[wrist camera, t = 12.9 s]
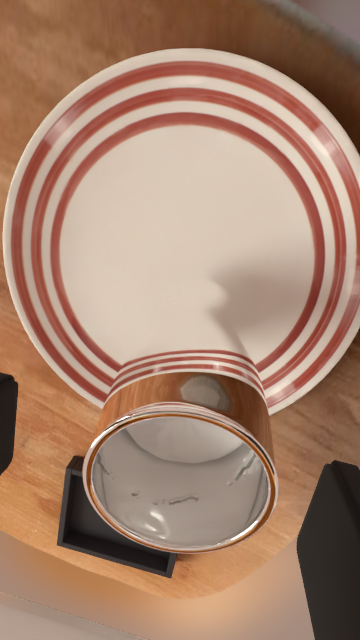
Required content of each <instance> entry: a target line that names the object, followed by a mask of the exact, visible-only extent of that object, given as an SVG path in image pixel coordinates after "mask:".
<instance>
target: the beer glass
mask: <svg viewBox="0 0 360 640" xmlns="http://www.w3.org/2000/svg"><path fill="white" fill-rule="evenodd" d="M238 325H239V312H238V308H237V305H236V302H235V300H234V299H233V297H232V296H231V294H230V293H229V292H228V291H227V290H226V289H225V288H224V287H222V286H221V285H219V284H217V283H215V282H213V281H210V280H206V279H198V278H195V279H187V280H184V281H181V282H179V283H177V284H175V285H173V286H172V287H170V288H169V289H168V290H167V291H166V292H165V293H164V295H163V296H162V297H161V299H160V301H159V303H158V306H157V310H156V324H155V325H154V326H153V327H152V328H151V329H150V330H149V331H148V332H147V333H146V334H145V335H144V337H143V338H142V339H141V340H140V341H139V342H138V343H137V345H136V346H135V347H134V348H133V350H132V351H131V352H130V354H129V355H128V356H127V358H126V359H125V361H124V363H123V365H122V367H121V368H120V370H119V372H118V374H117V376H116V378H115V380H114V382H113V384H112V387H111V389H110V391H109V394H108V396H107V399H106V401H105V404H104V407H103V410H102V412H101V415H100V418H99V421H98V424H97V427H96V430H95V434H94V437H93V439H92V442H91V445H90V447H89V449H88V450H87V453H86V456H85V459H84V463H83V471H82V476H83V484H84V488H85V491H86V494H87V497H88V499H89V501H90V503H91V505H92V506H93V508H94V509H95V511H96V512H97V513H98V514H99V516H100V517H101V518H102V519H103V520H104V521H105V522H106V523H107V524H108V525H109V526H111V527H112V528H113V529H115V530H116V531H117V532H119V533H120V534H122V535H123V536H125V537H127V538H129V539H131V540H133V541H135V542H137V543H139V544H142V545H145V546H147V547H150V548H154V549H158V550H162V551H167V552H173V553H185V554H196V553H207V552H214V551H218V550H222V549H226V548H229V547H232V546H234V545H237V544H239V543H241V542H243V541H245V540H246V539H248V538H250V537H251V536H253V535H254V534H255V533H256V532H258V531H259V530H260V529H261V528H262V527H263V526H264V525H265V523H266V522H267V521H268V519H269V518H270V516H271V515H272V513H273V511H274V509H275V506H276V503H277V499H278V493H279V482H278V476H277V472H276V469H275V461H274V450H273V440H272V432H271V424H270V417H269V412H268V407H267V402H266V397H265V393H264V390H263V386H262V383H261V380H260V376H259V373H258V371H257V369H256V366H255V364H254V362H253V360H252V358H251V356H250V354H249V352H248V350H247V349H246V347H245V346H244V344H243V342H242V341H241V339H240V337H239V336H238V334H237V330H238Z"/></svg>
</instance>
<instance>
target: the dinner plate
mask: <svg viewBox="0 0 360 640" xmlns="http://www.w3.org/2000/svg"><path fill="white" fill-rule="evenodd" d="M3 257H4V265H5V272H6V277H7V281H8V285H9V290H10V293H11V296H12V299H13V303H14V306H15V308H16V311H17V313H18V315H19V318H20V320H21V322H22V324H23V327H24V329H25V331H26V332H27V334H28V336H29V338H30V339H31V341H32V342H33V344H34V346H35V347H36V349H37V350H38V352H39V353H40V354H41V356H42V357H43V358H44V360H45V361H46V362H47V363H48V364H49V366H50V367H51V368H52V369H53V370H54V371H55V372H56V373H57V374H58V375H59V376H60V377H61V378H62V379H63V380H64V381H65V382H66V383H67V384H68V385H69V386H70V387H71V388H73V389H74V390H75V391H76V392H78V393H79V394H80V395H81V396H83V397H84V398H86V399H87V400H89V401H90V402H92V403H93V404H95V405H97V406H98V407H100V408H101V409H103V407H104V404H105V401H106V399H107V396H108V394H109V391H110V389H111V387H112V384H113V382H114V380H115V378H116V376H117V374H118V372H119V370H120V368H121V367H122V365H123V363H124V361H125V359H126V358H127V356H128V355H129V354H130V352H131V351H132V350H133V348H134V347H135V346H136V345H137V343H138V342H139V341H140V340H141V339H142V338H143V337H144V335H145V334H146V333H147V332H148V331H149V330H150V329H151V328H152V327H153V326H154V325H155V324H156V310H157V306H158V303H159V301H160V299H161V297H162V296H163V295H164V293H165V292H166V291H167V290H168V289H169V288H170V287H172V286H173V285H175V284H177V283H179V282H181V281H184V280H187V279H195V278H198V279H206V280H210V281H213V282H215V283H217V284H219V285H221V286H222V287H224V288H225V289H226V290H227V291H228V292H229V293H230V294H231V296H232V297H233V299H234V300H235V302H236V305H237V308H238V312H239V325H238V330H237V334H238V336H239V337H240V339H241V341H242V342H243V344H244V346H245V347H246V349H247V350H248V352H249V354H250V356H251V358H252V360H253V362H254V364H255V366H256V369H257V371H258V373H259V376H260V380H261V383H262V386H263V390H264V393H265V397H266V402H267V407H268V412H269V416H270V415H272V414H274V413H276V412H278V411H280V410H282V409H284V408H286V407H287V406H289V405H290V404H292V403H294V402H295V401H297V400H298V399H300V398H301V397H302V396H304V395H305V394H306V393H308V392H309V391H310V390H311V389H313V388H314V387H315V386H316V385H317V384H318V383H319V382H320V381H321V380H322V379H323V378H324V377H325V376H326V375H327V374H328V373H329V372H330V371H331V370H332V368H333V367H334V366H335V365H336V364H337V363H338V362H339V360H340V359H341V357H342V356H343V355H344V353H345V352H346V350H347V349H348V347H349V346H350V344H351V342H352V341H353V339H354V337H355V336H356V334H357V332H358V330H359V328H360V156H359V154H358V152H357V150H356V148H355V146H354V144H353V143H352V141H351V139H350V138H349V136H348V135H347V133H346V132H345V130H344V129H343V128H342V126H341V125H340V124H339V122H338V121H337V120H336V119H335V117H334V116H333V115H332V114H331V113H330V111H329V110H328V109H327V108H326V107H325V106H324V105H323V104H322V103H321V102H320V101H319V100H318V99H317V98H316V97H315V96H313V95H312V94H311V93H310V92H309V91H307V90H306V89H305V88H303V87H302V86H301V85H299V84H298V83H297V82H295V81H294V80H292V79H291V78H289V77H287V76H286V75H284V74H282V73H281V72H279V71H277V70H275V69H273V68H271V67H269V66H267V65H265V64H263V63H261V62H258V61H256V60H253V59H250V58H247V57H244V56H240V55H236V54H232V53H229V52H223V51H218V50H212V49H201V48H183V49H167V50H161V51H156V52H151V53H147V54H143V55H139V56H135V57H132V58H129V59H126V60H124V61H122V62H119V63H117V64H114V65H112V66H110V67H108V68H106V69H104V70H102V71H100V72H99V73H97V74H95V75H94V76H92V77H91V78H89V79H88V80H86V81H85V82H83V83H82V84H80V85H79V86H78V87H76V88H75V89H74V90H73V91H72V92H70V93H69V94H68V95H67V96H66V97H65V98H64V99H63V100H61V101H60V102H59V103H58V104H57V106H56V107H55V108H54V109H53V110H52V111H51V112H50V113H49V114H48V116H47V117H46V118H45V119H44V121H43V122H42V123H41V125H40V126H39V127H38V129H37V130H36V132H35V133H34V135H33V136H32V138H31V139H30V141H29V143H28V145H27V146H26V148H25V150H24V152H23V154H22V156H21V158H20V161H19V163H18V165H17V167H16V170H15V173H14V176H13V179H12V182H11V185H10V188H9V192H8V197H7V201H6V207H5V213H4V222H3Z"/></svg>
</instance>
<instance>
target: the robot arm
mask: <svg viewBox="0 0 360 640" xmlns="http://www.w3.org/2000/svg"><path fill="white" fill-rule="evenodd" d="M17 397H18V383H17V382H15V381H14V377H13V376H12V375H8V374H4V373H0V475H1V474H2V473H3V472H4V471H5V470H6V469H7V467H8V466H9V464H10V463H11V461H12V458H13V450H14V437H15V423H16V410H17ZM297 554H298V559H299V564H300V568H301V573H302V578H303V583H304V588H305V593H306V598H307V602H308V608H309V612H310V617H311V622H312V627H313V632H314V637H315V640H360V470H359V468H358V467H357V466H355V465H352V464H348V463H344V462H340V461H337V460H334V461H333V462H332V463H331V464H326V465H325V466H324V468H323V470H322V473H321V476H320V479H319V481H318V484H317V487H316V489H315V492H314V495H313V497H312V500H311V503H310V505H309V508H308V511H307V513H306V516H305V519H304V522H303V524H302V527H301V530H300V532H299V535H298V538H297ZM0 640H147V639H145V638H141V637H138V636H135V635H132V634H129V633H126V632H123V631H120V630H117V629H114V628H111V627H108V626H105V625H102V624H99V623H96V622H93V621H90V620H87V619H83V618H81V617H78V616H74V615H71V614H68V613H65V612H62V611H59V610H56V609H53V608H50V607H47V606H43V605H41V604H37V603H34V602H31V601H28V600H25V599H22V598H19V597H16V596H13V595H10V594H7V593H4V592H1V591H0Z"/></svg>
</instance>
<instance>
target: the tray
mask: <svg viewBox="0 0 360 640" xmlns="http://www.w3.org/2000/svg"><path fill="white" fill-rule="evenodd" d="M83 463H84V458H80V457H77V456H74V457H73V458H72V460H71V461H70V463H69V464H68V466H67V467H66V473H65V481H64V490H63V498H62V506H61V514H60V523H59V531H58V539H57V545H58V546H62V547H65V548H68V549H72V550H75V551H79V552H82V553H85V554H89V555H92V556H96V557H99V558H103V559H106V560H109V561H113V562H116V563H120V564H123V565H127V566H130V567H134V568H137V569H140V570H144V571H147V572H151V573H154V574H158V575H161V576H164V577H168V578H171V577H172V573H173V569H174V565H175V561H176V557H177V553H173V552H167V551H162V550H158V549H154V548H150V547H147V546H145V545H142V544H139V543H137V542H135V541H133V540H131V539H129V538H127V537H125V536H123V535H122V534H120V533H119V532H117V531H116V530H115V529H113V528H112V527H111V526H109V525H108V524H107V523H106V522H105V521H104V520H103V519H102V518H101V517H100V516H99V514H98V513H97V512H96V511H95V509H94V508H93V506H92V505H91V503H90V501H89V499H88V497H87V494H86V491H85V488H84V484H83V476H82V471H83Z"/></svg>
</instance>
